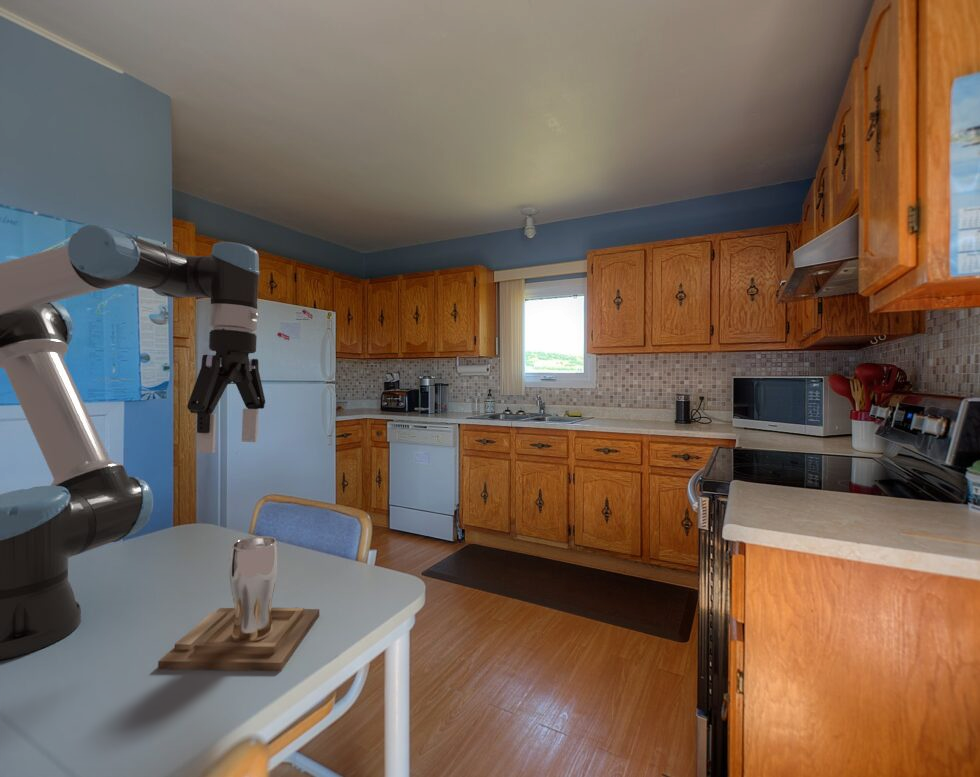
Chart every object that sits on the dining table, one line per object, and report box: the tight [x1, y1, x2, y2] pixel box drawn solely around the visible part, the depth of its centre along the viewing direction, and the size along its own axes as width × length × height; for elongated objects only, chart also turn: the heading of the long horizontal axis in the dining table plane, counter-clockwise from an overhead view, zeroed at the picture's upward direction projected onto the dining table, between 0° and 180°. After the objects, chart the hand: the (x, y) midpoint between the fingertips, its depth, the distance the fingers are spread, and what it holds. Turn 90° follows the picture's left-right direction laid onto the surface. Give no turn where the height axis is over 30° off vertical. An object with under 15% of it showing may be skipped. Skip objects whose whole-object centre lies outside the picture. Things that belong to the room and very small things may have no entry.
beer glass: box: [229, 535, 278, 643], centre depth 75 cm, size 7×7×15 cm
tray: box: [157, 607, 320, 672], centre depth 76 cm, size 18×16×2 cm
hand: (229, 446), depth 84 cm, fingers open, 13 cm apart
